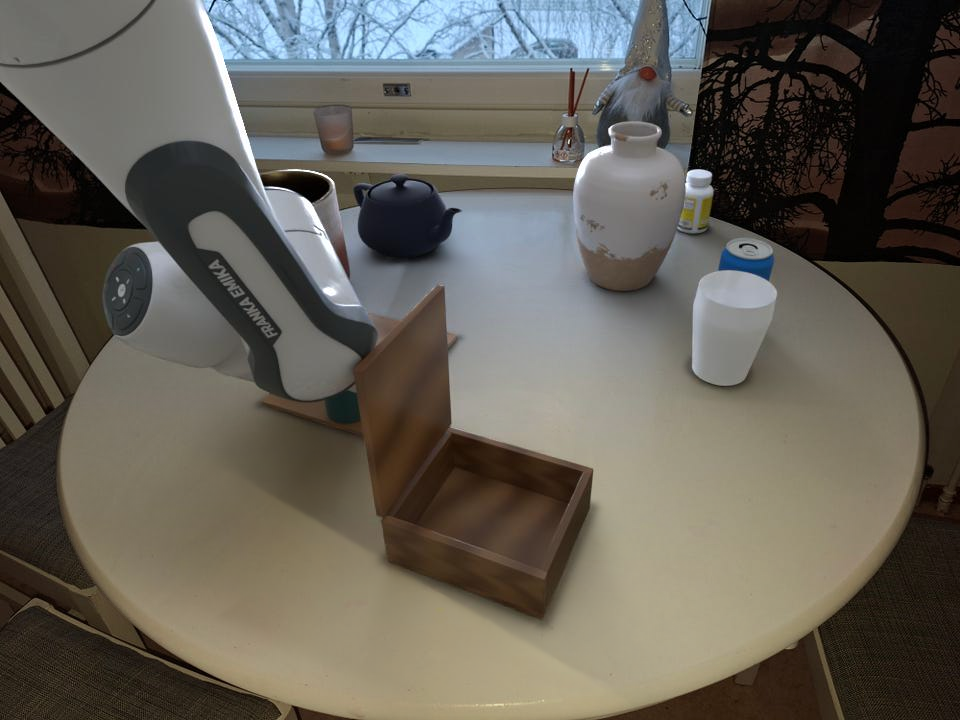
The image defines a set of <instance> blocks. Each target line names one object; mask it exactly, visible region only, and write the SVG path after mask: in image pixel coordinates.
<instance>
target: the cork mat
mask: <svg viewBox="0 0 960 720" xmlns="http://www.w3.org/2000/svg"><path fill="white" fill-rule="evenodd" d="M367 314H368V316H369V317H370V319H371V321H372V323H373V324H374V326H375V328H376V330H377V331H378V339H377V343H376V346H377V345H378V344H379V343H380V342H381V341H382V340H383V339H384V338H385V337H386V336H387V335H388V334H389V333H390V332H391V331H392V330H393V329H394V328H395V327H396V326H397V325H398V324H399V323H400V322H401V321H402V320H401V321H400V320H397V319H392V318H389V317H384V316H381V315H375V314H373V313H372V314H371V313H367ZM457 339H458V334H455V333H451V332H448V331H447V343H448V350H449V349H450V348H451V347H452V346H453V344H454V343H455V342H456V341H457ZM260 402H261V404H262V406H265V407H268V408H271V409H275V410H278V411H281V412H284V413H287V414H290V415H293V416H297V417H300V418H304V419H306V420H310V421H313V422H316V423H319V424H323V425H326V426H329V427H333V428H336V429H339V430H342V431H345V432H349V433H352V434H353V435H354V434H355V435H357V436H361V437H364V436H363V429H362V423H361V421H358V422H355V423H348V424H344V423H338V422H335V421H333V420H331V419H330V418H329V417H328V415H327V412H326V407H325V403H324V400H323V401H318V402H310V403H304V402H296V401H291V400H288V399H284V398H281V397H278V396H276V395H273V394H271V393H268V394H267V395H266V396H265V397H264V398H263V399H261V401H260Z"/></svg>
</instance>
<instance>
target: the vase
mask: <svg viewBox="0 0 960 720" xmlns="http://www.w3.org/2000/svg"><path fill="white" fill-rule="evenodd" d="M662 134H663V131H662V129H661V127H660V126H658V125H656V124H654V123H650V122H645V121H634V120H633V121H631V120H630V121H621V122H618V123H615V124H613V125H611V126H610V127H609V128H608V136H609V137H610V144H608V145H605V146H601V147H599V148H597V149H595V150H593V151H591V152H589V153H588V154H587V155H586V156H585V157H584V158H583V160H582V161H581V163H580V165H579V167H578V169H577V172H576V175H575V180H574V183H573V193H572V194H573V195H572V207H573V208H572V209H573V221H574V228H575V234H576V240H577V245H578V250H579V253H580V256H581V259H582V262H583V265H584V268H585V271H586V273H587V275H588V277H589V278H590V280H591V281H592V283H594V284H595V285H597V286H599V287H601V288H604V289H606V290H611V291H617V292H628V291H629V292H631V291H636V290H639V289H642V288H644V287H646V286H648V285H649V284H650V283H651V282H652V280H653V278H654V277H655V276H656V274H657V272H658V271H659V269H660V268H661V266H662V264H663V262H664V261H665V259H666V257H667V255H668V253H669V251H670V250H671V246H672V244H673V241H674V238H675V236H676V233H677V231H678V228H677V227H678V224H679V221H680V218H681V214H682V211H683V207H684V202H685V194H686V183H687V182H686V176H685V170H684V167H683V165H682V163H681V161H680V159H679V158H678V157H677V156H676V155H674V154H673V153H671V152H670V151H668V150H667V149H664V148H661V147H658V141H659V139H661V137H662V136H663V135H662Z"/></svg>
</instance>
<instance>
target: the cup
mask: <svg viewBox="0 0 960 720" xmlns="http://www.w3.org/2000/svg"><path fill="white" fill-rule="evenodd" d="M777 297H778V291H777V289H776V287H775V286H774V285H773V284H772V283H771V282H770V280H769V281H767V280H765V279H764V278H762V277H759V276H757V275H754V274H751V273H747V272H742V271H733V270H724V271H718V270H716V271H712V272H709V273H707V274H705V275H704V276H702V277H700V280H699V282H698V285H697V289H696V293H695V296H694V300H693V305H692V345H691V346H692V347H691V350H692V351H691V368H692V369H691V370H692V371H693V373H694V374H695V375H696V377H698V378H699V379H700V380H702V381H704V382H707V383H708V384H712V385H716V386H721V387H722V386H724V387H728V386H729V387H731V386H735V385H738V384H740V383H743V382H744V381H745V380H746V378H747V376H748V374H749V371H750V370H751V367H752V365H753V363H754V361H755V359H756V356H757V354H758V352H759V349H760V347H761V346H762V343H763V342H764V339H765V337H766V334H767V332H768V330H769V328H770V325H771V323H772V321H773V318H774V314H775V313H774V312H775V308H776V307H775V306H776V302H777Z"/></svg>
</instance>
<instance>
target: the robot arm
mask: <svg viewBox="0 0 960 720" xmlns="http://www.w3.org/2000/svg"><path fill="white" fill-rule="evenodd" d="M0 83H1V84H2V86H4V87H5V88H6V89H7V91H9V92H10V93H11V94H12V95H13V96H14V97H16V99H18V100H19V102H20V103H22V105H24V106H25V108H26V109H28V110H29V111H30V112H31V113H32V114H33V115H34V116H35V117H36V118H37V119H38V120H39V121H40V122H41V124H43V125H44V126H45V127H46V128H47V129H48V130H49V131H50V132H51V133H52V134H53V135H55V137H56V138H57V139H58V140H60V141H61V142H62V144H64V145H65V146H66V148H68V149H69V150H70V151H71V153H73V154H74V156H76V157H77V158H78V159H79V161H81V162H82V163H83V164H84V165H85V167H86V168H88V170H89V171H91V172H92V174H93V175H94V176H95V177H96V178H97V179H98V180H99V181H100V182H101V183H102V184H103V185H104V186H105V187H106V188H107V189H108V191H109V192H110V193H111V194H112V196H114V197H115V199H117V200H118V201H119V202H120V203H121V204H122V205H123V207H125V209H127V210H128V211H129V213H131V214H132V216H133V217H135V218H136V219H137V221H138V222H140V223H141V224H142V225H143V226H144V227H145V228H146V229H147V231H148V232H149V233H150V234H151V235H152V236H153V237H154V239H155V240H156V241H147V242H138V243H134V244H131V245H129V246H127V247H125V248H124V249H122V251H120V252H119V253H118V254H117V255H116V257H115V258H114V259H113V260H112V263H110V266H109V268H108V269H107V272H106V275H105V278H104V283H103V288H102V289H103V291H102V295H101V296H102V307H103V310H104V311H103V312H104V315H105V318H106V322H107V324H108V327H109V329H110V331H111V333H112V334H113V336H114V337H116V338H117V339H118V340H120V341H121V342H122V343H123V344H125V345H127V346H128V347H130V348H132V349H134V350H136V351H138V352H141V353H143V354H146V355H148V356H151V357H154V358H158V359H160V360H163V361H167V362H170V363H174V364H178V365H182V366H185V367H190V368H194V369H207V368H212V369H213V370H214V371H215V372H218V373H219V374H222V375H224V376H226V377H231V378H235V379H238V380H243V381H247V382H252V383H254V384H255V386H257V388H258V389H260V390H263V391H264V392H267V393H268V394H270V393H271V394H273V395H276V396H278V397H281V398H284V399H288V400H291V401H296V402H304V403H310V402H318V401H323V400H326V399H330V398H332V397H335V396H337V395H339V394H341V393H343V392H345V391H346V390H348V391H351V392H354V393H357V392H356V386H355V379H354V373H353V369H354V368H355V367H356V366H357V365H358V364H359V363H360V362H361V361H362V360H363V359H364V358H365V357H366V356H367V355H368V354H369V353H370V352H371V351H372V350H373V349H374V348H375V347H376V343H377V339H378V331H377V330H376V328H375V326H374V324H373V323H372V321H371V319H370V317H369V316H368V314H369V313H368V311H367V310H366V309H365V307H364V306H362V304H361V301H360V299H359V297H358V296H357V294H356V291H355V289H354V287H353V285H352V283H351V281H350V279H348V277H347V275H346V273H345V270H344V268H343V266H342V264H341V262H340V260H339V258H338V256H337V254H336V252H335V250H334V248H333V245H332V243H331V241H330V239H329V237H328V235H327V233H326V231H325V229H324V227H323V225H322V223H321V221H320V219H319V217H318V215H317V213H316V212H315V209H314V207H313V205H312V204H311V202H310V201H309V200H308V199H306V198H305V197H303V196H302V195H300V194H298V193H295V192H293V191H290V190H287V189H282V188H276V187H263V184H262V181H261V178H260V176H259V173H260V172H259V170H258V167H257V164H256V160H255V157H254V155H253V152H252V148H251V145H250V141H249V138H248V135H247V133H246V130H245V126H244V122H243V119H242V116H241V113H240V110H239V106H238V103H237V99H236V96H235V93H234V90H233V87H232V83H231V79H230V77H229V74H228V71H227V68H226V65H225V61H224V58H223V55H222V52H221V48H220V46H219V42H218V40H217V36H216V34H215V31H214V29H213V26H212V23H211V21H210V17H209V15H208V13H207V10H206V8H205V5H204V2H203V0H0Z"/></svg>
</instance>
